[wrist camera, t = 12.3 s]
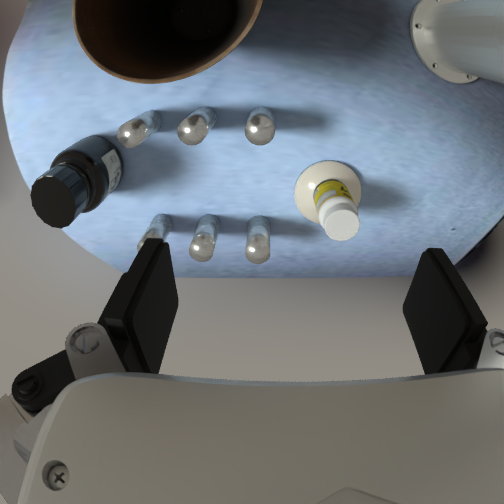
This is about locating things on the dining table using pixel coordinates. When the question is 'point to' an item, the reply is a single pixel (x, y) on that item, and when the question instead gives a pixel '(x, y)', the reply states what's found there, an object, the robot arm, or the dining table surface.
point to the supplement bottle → (336, 209)
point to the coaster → (318, 174)
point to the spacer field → (192, 134)
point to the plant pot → (161, 35)
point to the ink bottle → (77, 181)
